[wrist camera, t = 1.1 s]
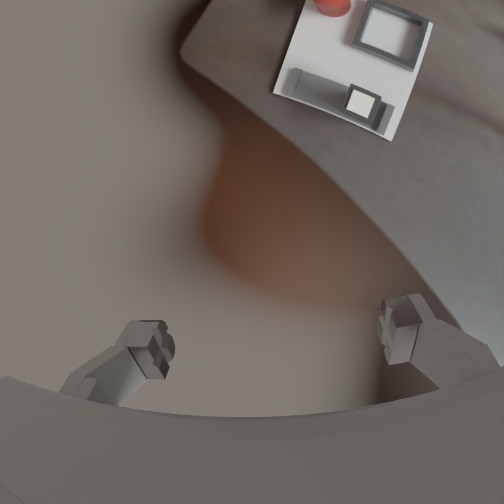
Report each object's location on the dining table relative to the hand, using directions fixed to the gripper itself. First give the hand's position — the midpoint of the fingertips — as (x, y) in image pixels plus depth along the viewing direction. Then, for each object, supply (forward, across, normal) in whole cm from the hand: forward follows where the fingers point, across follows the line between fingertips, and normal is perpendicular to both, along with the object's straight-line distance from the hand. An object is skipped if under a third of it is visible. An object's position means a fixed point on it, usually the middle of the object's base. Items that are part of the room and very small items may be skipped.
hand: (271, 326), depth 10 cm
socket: (+30, -19, -18) cm, 40 cm away
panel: (+33, -14, -15) cm, 39 cm away
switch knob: (+32, -13, -7) cm, 35 cm away
